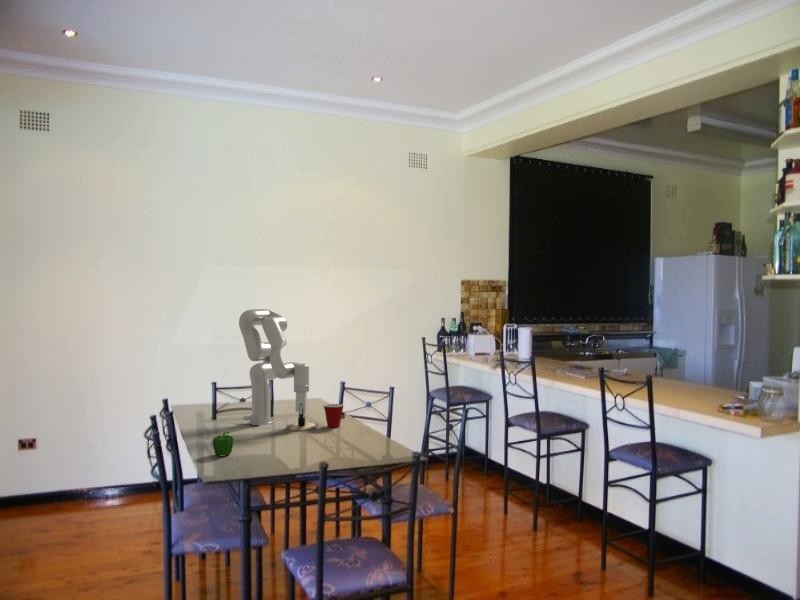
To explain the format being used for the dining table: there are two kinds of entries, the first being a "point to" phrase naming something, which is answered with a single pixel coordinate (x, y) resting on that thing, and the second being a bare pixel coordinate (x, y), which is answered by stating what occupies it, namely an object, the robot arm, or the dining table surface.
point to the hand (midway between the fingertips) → (301, 424)
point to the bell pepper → (223, 444)
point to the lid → (301, 428)
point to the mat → (300, 431)
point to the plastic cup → (333, 414)
